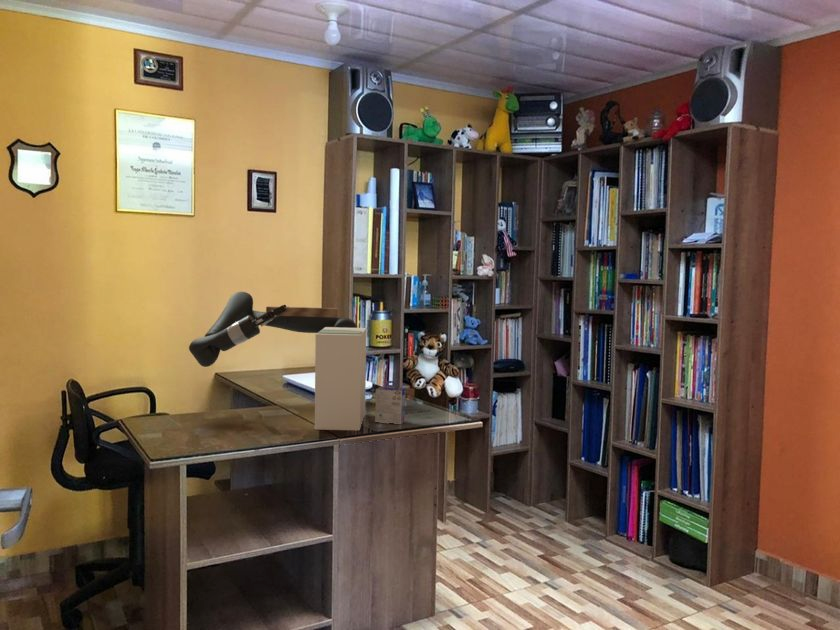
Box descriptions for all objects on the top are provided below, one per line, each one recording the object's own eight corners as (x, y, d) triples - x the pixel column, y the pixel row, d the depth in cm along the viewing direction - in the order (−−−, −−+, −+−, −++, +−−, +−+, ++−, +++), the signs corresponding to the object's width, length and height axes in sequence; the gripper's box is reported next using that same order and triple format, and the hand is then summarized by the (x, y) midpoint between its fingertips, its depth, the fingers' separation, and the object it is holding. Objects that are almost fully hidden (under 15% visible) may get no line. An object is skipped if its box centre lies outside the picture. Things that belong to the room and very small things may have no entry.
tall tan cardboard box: (314, 429, 233) (315, 333, 230) (324, 413, 257) (325, 326, 254) (359, 430, 233) (361, 334, 231) (364, 414, 257) (366, 327, 254)
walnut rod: (266, 315, 247) (266, 307, 246) (268, 314, 250) (268, 306, 249) (336, 317, 247) (336, 308, 246) (337, 316, 250) (337, 308, 249)
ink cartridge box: (405, 421, 248) (406, 381, 246) (402, 425, 242) (402, 383, 241) (378, 419, 250) (379, 379, 248) (374, 423, 244) (375, 382, 243)
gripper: (232, 322, 241) (276, 299, 241) (243, 319, 255) (284, 296, 255) (243, 341, 242) (287, 318, 241) (253, 337, 256) (294, 314, 255)
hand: (285, 307), depth 248 cm, fingers closed on walnut rod, 3 cm apart
